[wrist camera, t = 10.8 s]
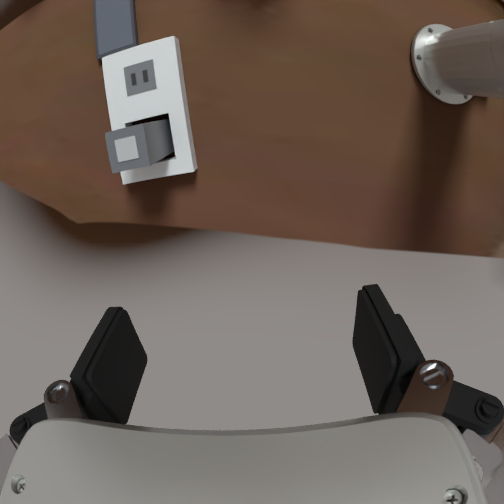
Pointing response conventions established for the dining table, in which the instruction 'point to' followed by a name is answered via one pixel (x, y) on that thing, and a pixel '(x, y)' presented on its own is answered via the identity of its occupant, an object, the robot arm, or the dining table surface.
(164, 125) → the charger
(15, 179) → the dining table surface
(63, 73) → the dining table surface
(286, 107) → the dining table surface
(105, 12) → the phone
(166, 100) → the outlet plate
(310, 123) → the dining table surface
